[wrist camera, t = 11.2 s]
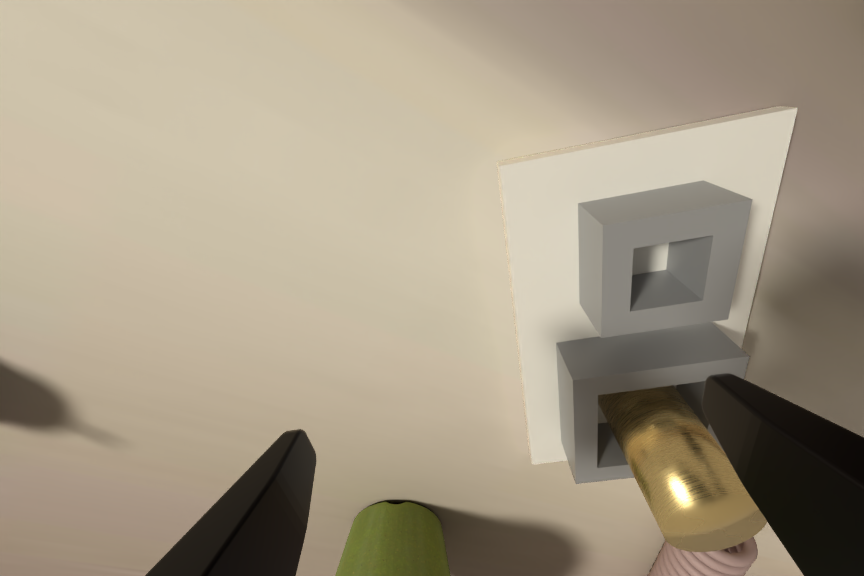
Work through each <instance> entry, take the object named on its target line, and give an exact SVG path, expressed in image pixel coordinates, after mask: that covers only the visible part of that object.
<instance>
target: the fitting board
mask: <svg viewBox="0 0 864 576" xmlns="http://www.w3.org/2000/svg"><path fill="white" fill-rule="evenodd" d="M797 109H798V108H795V107H783V106H777V107H772V108H767V109H761V110H756V111H751V112H746V113H741V114H736V115H731V116H726V117H721V118H716V119H711V120H706V121H701V122H696V123H691V124H685V125H680V126H675V127H670V128H665V129H660V130H655V131H650V132H645V133H640V134H635V135H630V136H625V137H620V138H615V139H610V140H604V141H599V142H594V143H589V144H584V145H579V146H574V147H569V148H564V149H559V150H554V151H549V152H544V153H539V154H534V155H528V156H523V157H518V158H513V159H508V160H503V161H498V162H497V171H498V180H499V189H500V198H501V206H502V215H503V224H504V233H505V242H506V251H507V260H508V269H509V278H510V287H511V295H512V304H513V313H514V322H515V331H516V340H517V349H518V358H519V367H520V375H521V384H522V393H523V402H524V411H525V420H526V429H527V438H528V447H529V454H530V458H531V462H532V465H533V464H542V463H550V462H559V461H567V460H568V463H569V466H570V468H571V471H572V474H573V477H574V480H575V483H576V484H579V483H588V482H597V481H607V480H616V479H625V478H634V475H633V473H632V471H631V469H630V467H629V465H628V463H627V461H626V459H625V457H624V455H623V453H622V451H621V449H620V447H619V445H618V442H617V440H616V438H615V436H614V434H613V432H612V430H611V428H610V426H609V424H608V422H607V420H606V418H605V416H604V414H603V412H602V410H601V408H600V406H599V404H598V395H603V394H611V393H618V392H626V391H634V390H641V389H649V388H656V387H664V386H672V385H673V386H674V387H675V388H676V389H677V391H678V392H679V393H680V395H681V396H682V397H683V399H684V400H685V401H686V403H687V404H688V405H689V406H690V408H691V409H692V410H693V412H694V413H695V414H696V416H697V417H698V418H699V419H700V421H701V422H702V423H703V425H704V426H705V427H706V429H707V430H708V431H709V432H710V434H711V435H712V436H713V438H714V439H715V440H716V442H717V443H718V444H719V446H720V447H721V448H722V446H721V445H720V443H719V441H718V439H717V437H716V435H715V434H714V432H713V430H712V428H711V426H710V424H709V423H708V421H707V419H706V417H705V415H704V413H703V410H702V397H703V392H704V387H705V382H706V379H707V377H708V376H710V375H715V374H723V373H730V374H733V375H736V376H738V377H740V378H742V379H744V377H745V373H746V369H747V365H748V361H749V357H750V356H749V355H748V354H747V353H746V352H744V351H743V350H742V345H743V341H744V336H745V332H746V328H747V323H748V319H749V315H750V311H751V306H752V302H753V298H754V293H755V289H756V285H757V281H758V276H759V272H760V268H761V263H762V259H763V255H764V251H765V246H766V242H767V238H768V233H769V229H770V225H771V221H772V216H773V212H774V208H775V203H776V199H777V195H778V191H779V186H780V182H781V178H782V173H783V169H784V165H785V161H786V156H787V152H788V148H789V143H790V139H791V135H792V131H793V126H794V122H795V118H796V113H797ZM722 449H723V448H722ZM723 451H724V450H723Z"/></svg>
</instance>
